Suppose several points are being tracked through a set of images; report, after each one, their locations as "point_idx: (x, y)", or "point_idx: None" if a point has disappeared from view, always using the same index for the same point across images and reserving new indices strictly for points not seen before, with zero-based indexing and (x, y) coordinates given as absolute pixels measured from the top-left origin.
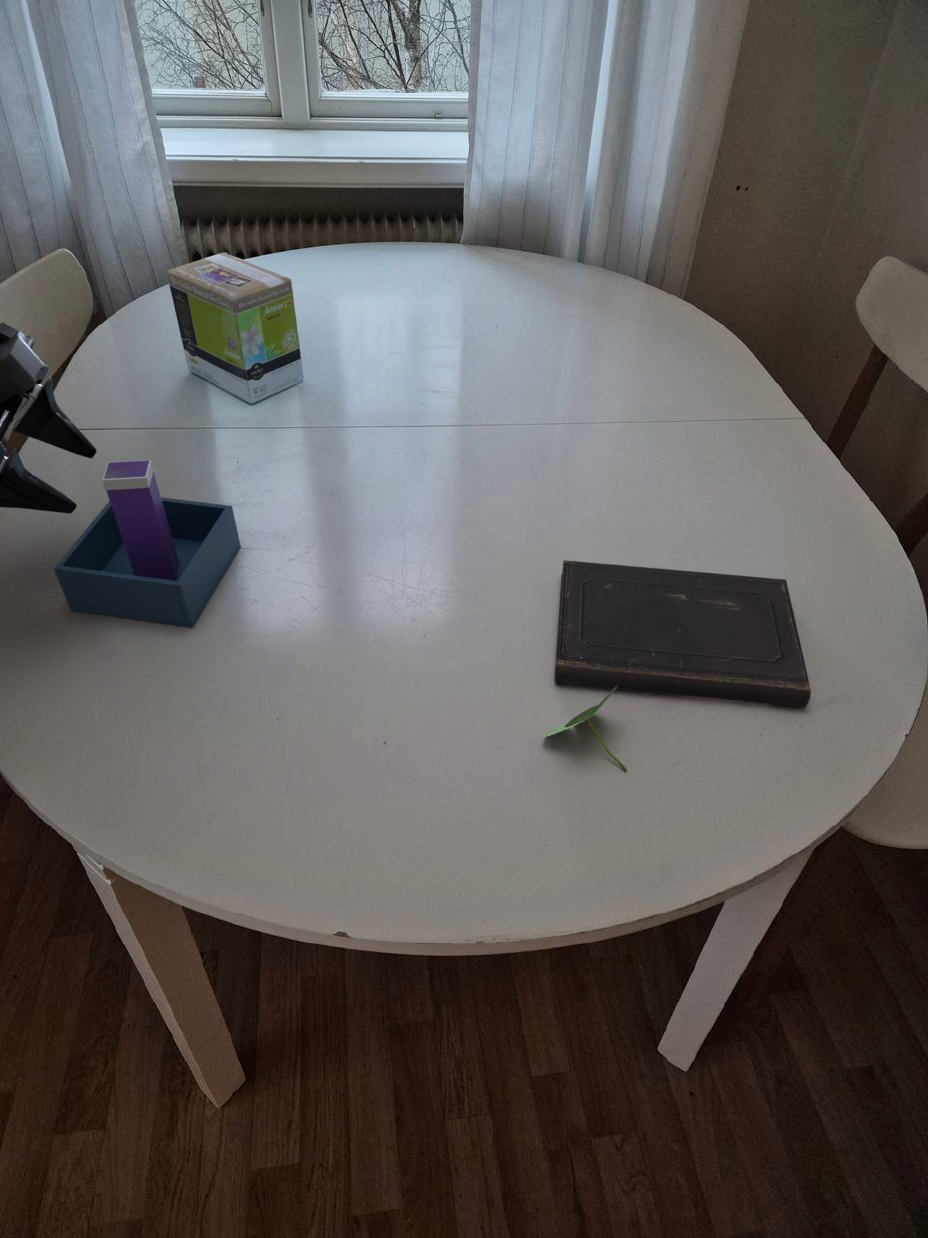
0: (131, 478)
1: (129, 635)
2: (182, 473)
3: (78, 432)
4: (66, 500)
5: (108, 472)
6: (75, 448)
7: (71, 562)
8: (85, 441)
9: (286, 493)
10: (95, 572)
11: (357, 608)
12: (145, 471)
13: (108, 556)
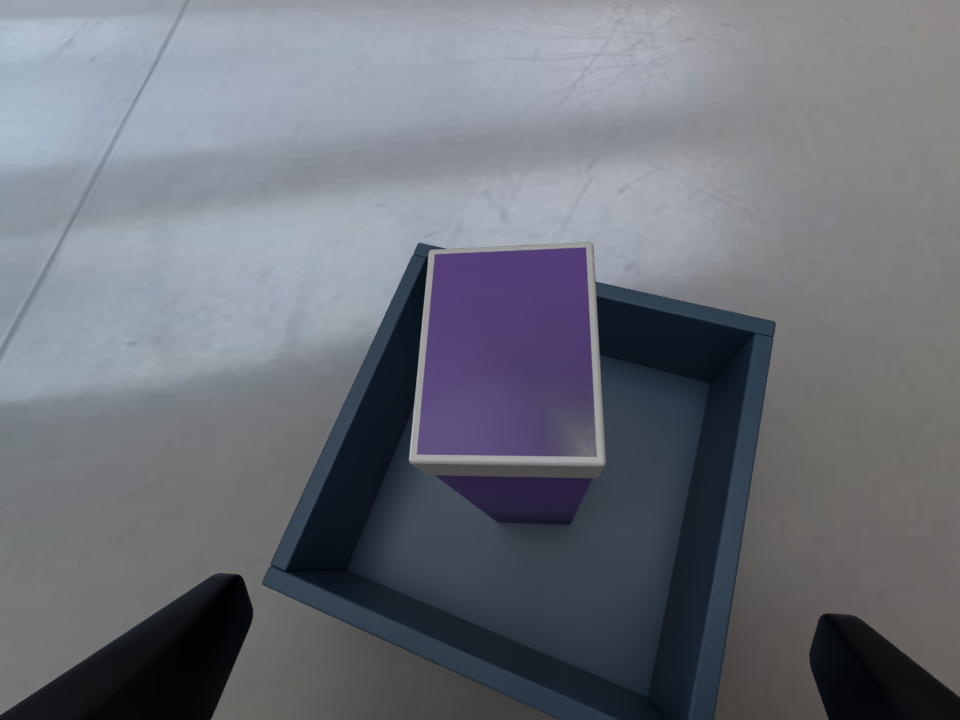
0: (595, 309)
1: (755, 527)
2: (123, 466)
3: (75, 688)
4: (924, 674)
5: (526, 438)
6: (186, 716)
7: (622, 714)
8: (166, 633)
9: (283, 241)
10: (721, 598)
11: (658, 109)
12: (537, 254)
13: (458, 619)
